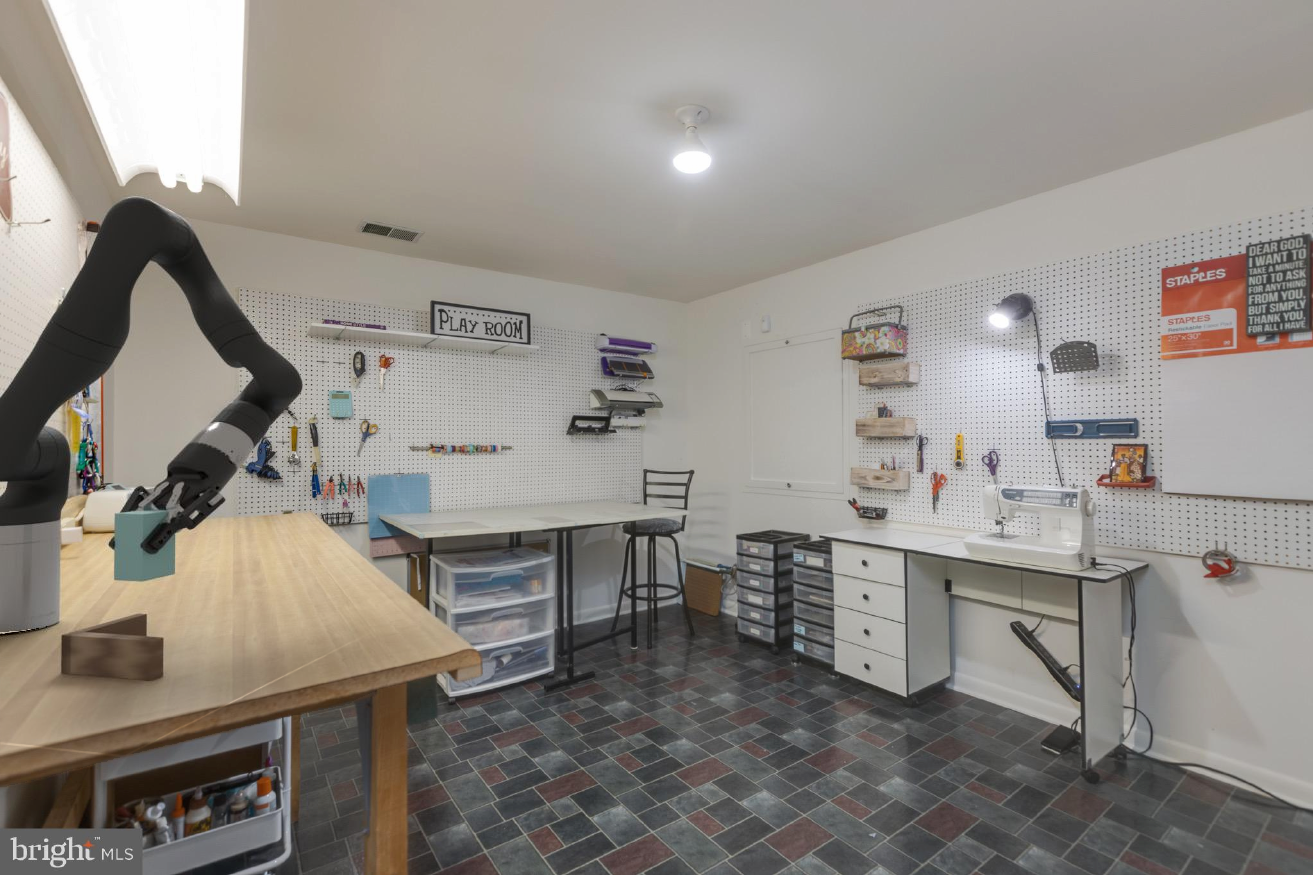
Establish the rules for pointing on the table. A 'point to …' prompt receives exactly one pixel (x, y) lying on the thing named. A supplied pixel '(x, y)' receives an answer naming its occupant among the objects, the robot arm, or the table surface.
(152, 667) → the walnut corner
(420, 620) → the table surface
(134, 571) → the teal block
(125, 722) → the table surface
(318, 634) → the table surface
